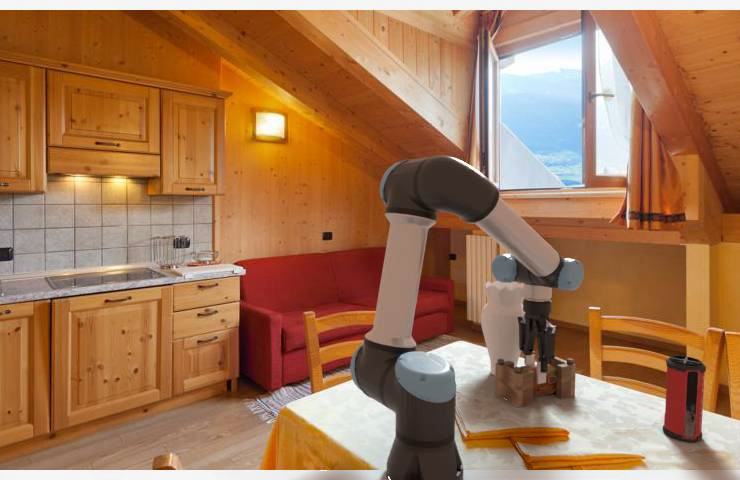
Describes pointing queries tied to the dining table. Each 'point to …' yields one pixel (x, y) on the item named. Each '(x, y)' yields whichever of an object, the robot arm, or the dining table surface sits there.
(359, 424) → the dining table surface
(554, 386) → the tin
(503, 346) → the vase
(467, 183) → the robot arm
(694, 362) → the speaker
